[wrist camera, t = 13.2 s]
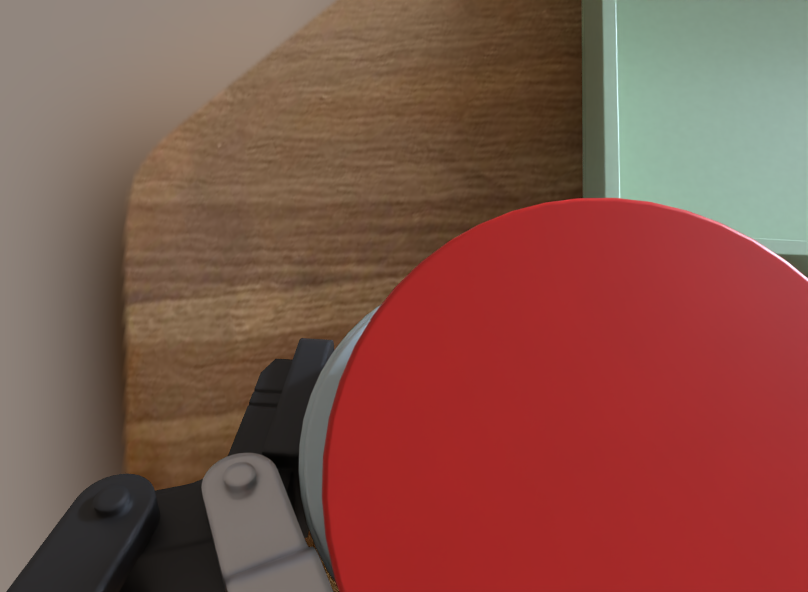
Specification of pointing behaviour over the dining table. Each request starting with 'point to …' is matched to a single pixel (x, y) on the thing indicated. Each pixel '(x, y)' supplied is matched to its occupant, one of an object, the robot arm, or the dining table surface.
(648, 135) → the tray
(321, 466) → the bottle
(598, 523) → the cap
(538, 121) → the dining table surface
